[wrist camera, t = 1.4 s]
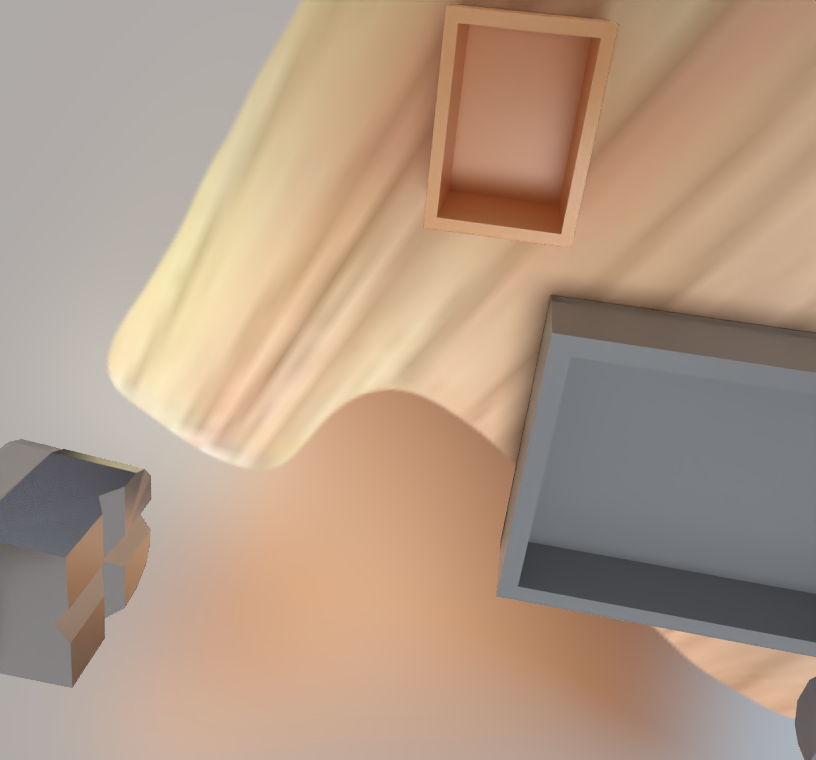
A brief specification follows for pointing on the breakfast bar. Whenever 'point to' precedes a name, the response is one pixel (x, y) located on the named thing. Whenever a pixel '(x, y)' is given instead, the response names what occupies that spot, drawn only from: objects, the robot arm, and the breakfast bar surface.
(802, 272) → the breakfast bar surface
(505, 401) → the breakfast bar surface
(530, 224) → the orange crate
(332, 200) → the breakfast bar surface
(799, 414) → the charcoal crate
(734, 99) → the breakfast bar surface
